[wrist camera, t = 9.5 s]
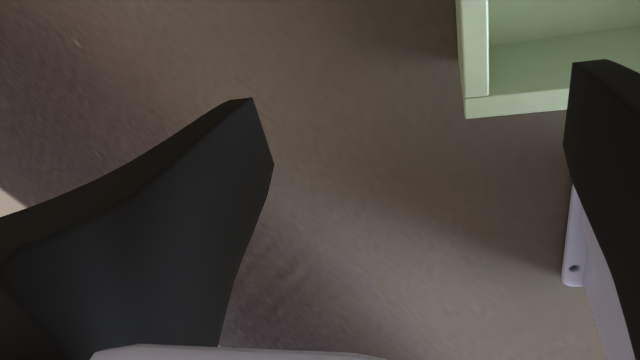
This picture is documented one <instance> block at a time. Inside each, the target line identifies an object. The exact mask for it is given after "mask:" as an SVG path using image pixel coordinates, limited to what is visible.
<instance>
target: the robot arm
mask: <svg viewBox="0 0 640 360" xmlns="http://www.w3.org/2000/svg"><path fill="white" fill-rule="evenodd" d="M563 147H564V151H565V155H566V160H567V164H568V168H569V172H570V176H571V179H572V190H571V198H570V207H569V215H568V224H567V232H566V240H565V249H564V257H563V265H562V274H561V278H562V281H563V283H564V284H565V285H567V286H584V289H585V292H586V295H587V298H588V301H589V304H590V308H591V311H592V314H593V317H594V320H595V323H596V326H597V330H598V333H599V336H600V339H601V342H602V345H603V348H604V352H605V355H606V358H607V360H640V73H638V72H636V71H634V70H632V69H630V68H628V67H625V66H623V65H621V64H619V63H616V62H614V61H611V60H608V59H599V60H590V61H581V62H572V70H571V79H570V87H569V96H568V105H567V113H566V122H565V131H564V139H563ZM273 167H274V162H273V159H272V156H271V153H270V150H269V147H268V144H267V141H266V137H265V134H264V131H263V128H262V125H261V122H260V119H259V116H258V113H257V110H256V107H255V104H254V101H253V98H243V99H234V100H229V101H227V102H224V103H222V104H220V105H219V106H217V107H215V108H214V109H212V110H210V111H209V112H207V113H206V114H204V115H203V116H201V117H200V118H198V119H197V120H195V121H194V122H192V123H191V124H189V125H188V126H186V127H185V128H183V129H182V130H180V131H179V132H177V133H176V134H174V135H173V136H171V137H170V138H168V139H166V140H165V141H163V142H162V143H160V144H158V145H157V146H155V147H154V148H152V149H150V150H149V151H147V152H146V153H144V154H142V155H141V156H139V157H138V158H136V159H134V160H132V161H131V162H129V163H127V164H125V165H123V166H122V167H120V168H118V169H116V170H114V171H112V172H110V173H108V174H106V175H104V176H102V177H100V178H98V179H96V180H94V181H92V182H90V183H88V184H85V185H83V186H81V187H78V188H76V189H74V190H71V191H69V192H67V193H65V194H62V195H60V196H58V197H55V198H53V199H50V200H48V201H45V202H43V203H40V204H37V205H35V206H32V207H29V208H26V209H24V210H21V211H18V212H15V213H12V214H9V215H6V216H3V217H0V360H389V359H384V358H379V357H373V356H368V355H363V354H357V353H343V352H320V351H297V350H274V349H251V348H228V347H218V343H219V339H220V335H221V331H222V326H223V322H224V318H225V314H226V310H227V306H228V303H229V299H230V295H231V291H232V288H233V284H234V280H235V278H236V275H237V272H238V269H239V266H240V263H241V261H242V258H243V256H244V253H245V251H246V248H247V246H248V243H249V241H250V238H251V236H252V234H253V231H254V229H255V226H256V224H257V221H258V219H259V216H260V213H261V211H262V208H263V206H264V203H265V200H266V198H267V194H268V190H269V186H270V182H271V177H272V172H273ZM573 265H576V266H573Z"/></svg>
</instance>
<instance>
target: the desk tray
mask: <svg viewBox="0 0 640 360" xmlns="http://www.w3.org/2000/svg"><path fill="white" fill-rule="evenodd" d="M455 4H456V23H457V43H458V62H459V71H460V80H461V89H462V97H463V106H464V115H465V119H471V118H481V117H492V116H502V115H512V114H523V113H533V112H544V111H554V110H565V109H567V105H568V96H569V87H570V79H571V70H572V62H581V61H590V60H599V59H608V60H611V61H614V62H616V63H619V64H621V65H623V66H625V67H628V68H630V69H632V70H634V71H636V72H638V73H640V0H455Z"/></svg>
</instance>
